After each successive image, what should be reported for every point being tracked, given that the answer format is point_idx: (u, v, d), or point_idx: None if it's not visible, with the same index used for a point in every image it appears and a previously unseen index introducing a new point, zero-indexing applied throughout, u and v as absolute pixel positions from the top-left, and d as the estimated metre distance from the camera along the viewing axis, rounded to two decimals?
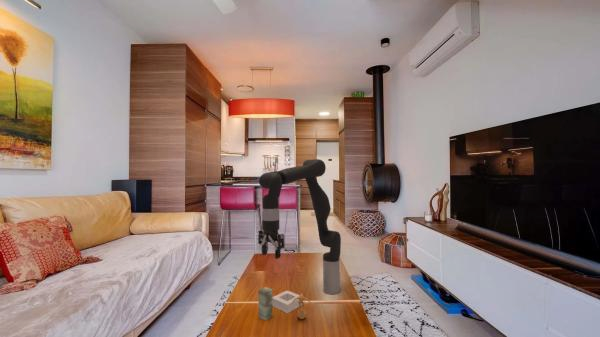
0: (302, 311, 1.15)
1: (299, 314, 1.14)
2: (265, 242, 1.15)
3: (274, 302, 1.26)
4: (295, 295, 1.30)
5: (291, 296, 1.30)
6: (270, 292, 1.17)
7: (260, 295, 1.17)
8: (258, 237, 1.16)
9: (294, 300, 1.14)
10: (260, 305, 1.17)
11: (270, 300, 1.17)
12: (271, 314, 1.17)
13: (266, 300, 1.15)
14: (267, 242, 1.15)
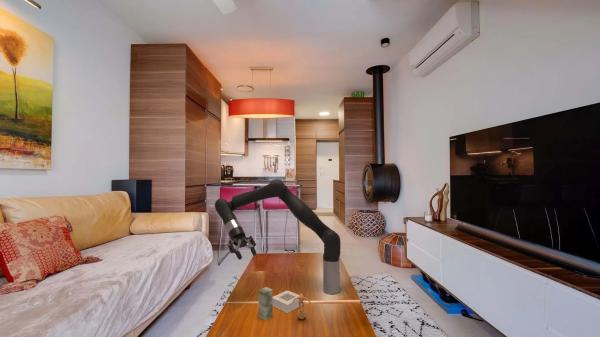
0: (302, 311, 1.15)
1: (299, 314, 1.14)
2: None
3: (274, 302, 1.26)
4: (295, 295, 1.30)
5: (291, 296, 1.30)
6: (270, 292, 1.17)
7: (260, 295, 1.17)
8: None
9: (294, 300, 1.14)
10: (259, 305, 1.17)
11: (270, 300, 1.17)
12: (271, 314, 1.17)
13: (266, 300, 1.15)
14: (250, 245, 1.32)
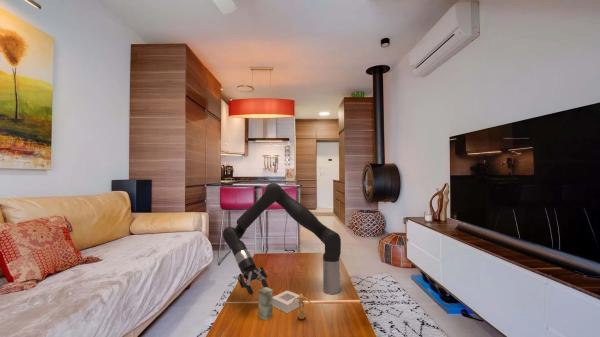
0: (302, 311, 1.15)
1: (299, 314, 1.14)
2: None
3: (274, 302, 1.26)
4: (295, 295, 1.30)
5: (291, 296, 1.30)
6: (270, 292, 1.17)
7: (260, 295, 1.17)
8: None
9: (294, 300, 1.14)
10: (260, 305, 1.17)
11: (270, 300, 1.17)
12: (271, 314, 1.17)
13: (266, 300, 1.15)
14: (261, 277, 1.25)
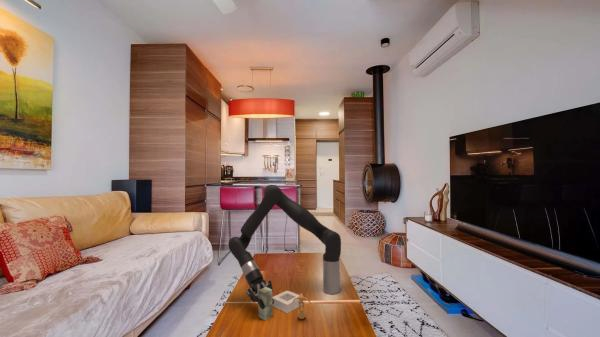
0: (302, 311, 1.15)
1: (299, 314, 1.14)
2: None
3: (274, 302, 1.26)
4: (295, 295, 1.30)
5: (291, 296, 1.30)
6: (270, 292, 1.17)
7: (260, 295, 1.17)
8: None
9: (294, 300, 1.14)
10: None
11: (270, 300, 1.17)
12: (271, 314, 1.17)
13: (266, 300, 1.15)
14: None
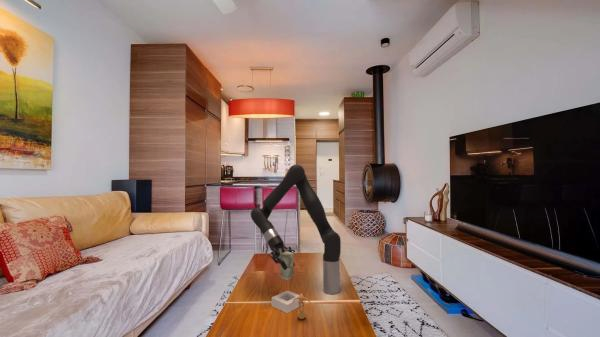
0: (302, 311, 1.15)
1: (299, 314, 1.14)
2: None
3: (274, 302, 1.26)
4: (295, 295, 1.30)
5: (291, 296, 1.30)
6: (291, 255, 1.28)
7: (282, 257, 1.28)
8: None
9: (294, 300, 1.14)
10: None
11: (291, 262, 1.28)
12: (292, 275, 1.28)
13: (288, 261, 1.26)
14: None
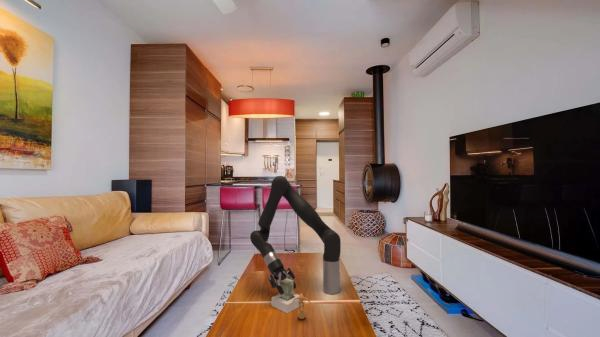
0: (302, 311, 1.15)
1: (299, 314, 1.14)
2: None
3: (274, 302, 1.26)
4: (295, 295, 1.30)
5: None
6: (291, 282, 1.28)
7: (282, 285, 1.27)
8: (290, 275, 1.36)
9: (294, 300, 1.14)
10: (282, 294, 1.27)
11: (291, 290, 1.27)
12: None
13: (288, 289, 1.26)
14: (289, 278, 1.32)
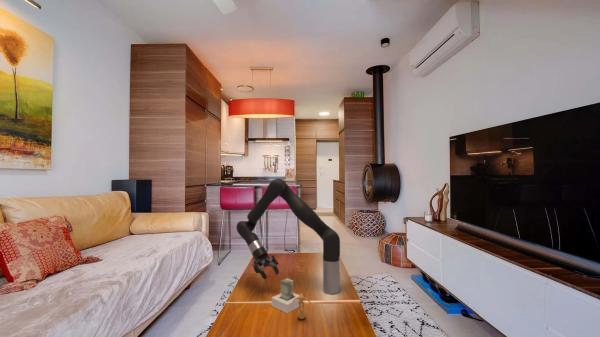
0: (302, 311, 1.15)
1: (299, 314, 1.14)
2: None
3: (274, 302, 1.26)
4: (295, 295, 1.30)
5: None
6: (291, 282, 1.28)
7: (282, 285, 1.27)
8: None
9: (294, 300, 1.14)
10: (282, 294, 1.27)
11: (291, 290, 1.27)
12: None
13: (288, 289, 1.26)
14: (272, 264, 1.41)
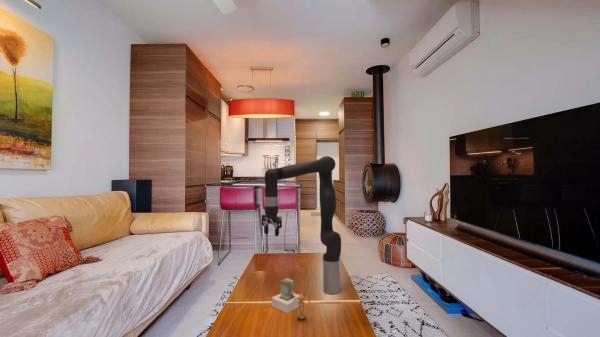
0: (302, 311, 1.15)
1: (299, 314, 1.14)
2: (267, 224, 1.45)
3: (274, 302, 1.26)
4: (295, 295, 1.30)
5: None
6: (291, 282, 1.28)
7: (282, 285, 1.27)
8: None
9: (294, 300, 1.14)
10: (282, 294, 1.27)
11: (291, 290, 1.27)
12: None
13: (288, 289, 1.26)
14: (268, 224, 1.44)
